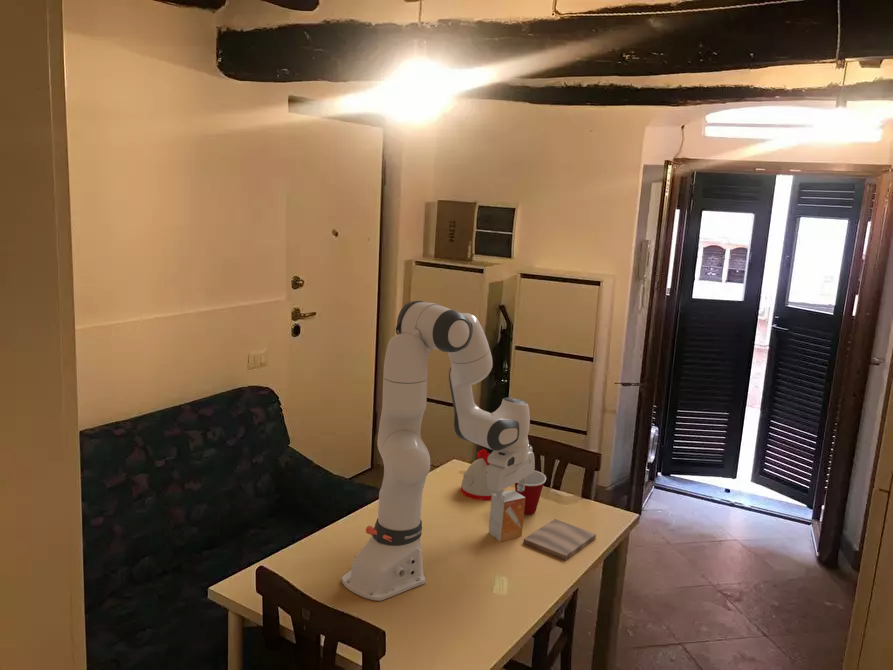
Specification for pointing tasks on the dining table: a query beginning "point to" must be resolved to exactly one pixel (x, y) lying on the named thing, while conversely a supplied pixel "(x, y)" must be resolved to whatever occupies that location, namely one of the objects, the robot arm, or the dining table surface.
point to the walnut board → (559, 539)
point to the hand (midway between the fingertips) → (510, 496)
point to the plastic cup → (532, 491)
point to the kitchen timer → (477, 478)
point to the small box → (507, 516)
